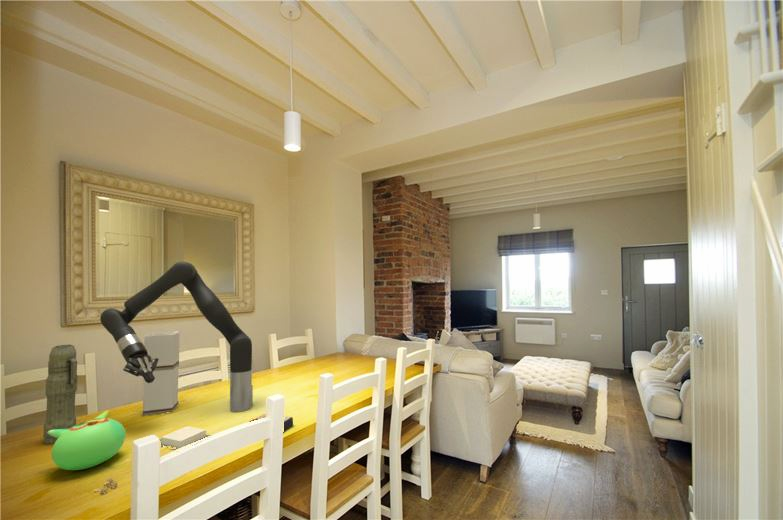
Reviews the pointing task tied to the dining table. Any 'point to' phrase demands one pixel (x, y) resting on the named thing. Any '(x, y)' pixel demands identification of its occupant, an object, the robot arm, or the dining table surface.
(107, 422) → the green eared figurine
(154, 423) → the dining table surface
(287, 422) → the calculator
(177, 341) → the grooved grey pillar
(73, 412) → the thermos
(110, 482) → the dice set
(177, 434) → the tile
